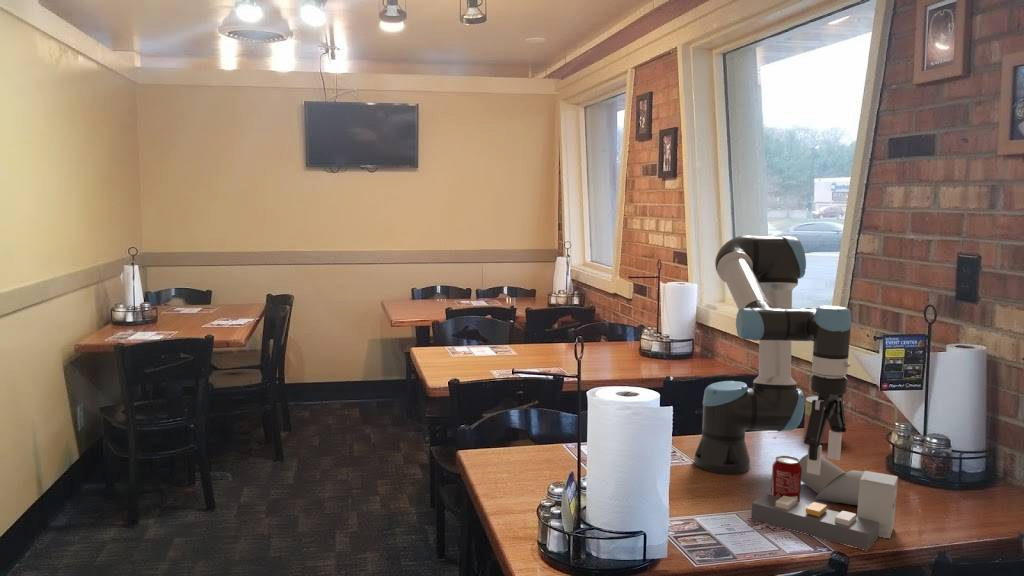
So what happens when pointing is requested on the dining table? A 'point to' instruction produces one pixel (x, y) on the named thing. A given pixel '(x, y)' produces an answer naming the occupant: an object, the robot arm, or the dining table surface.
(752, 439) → the dining table surface
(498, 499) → the dining table surface
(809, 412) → the canned food
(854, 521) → the button panel
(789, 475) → the soda can
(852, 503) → the l-shaped cylinder
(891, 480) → the supplement box
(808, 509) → the paddle mid
